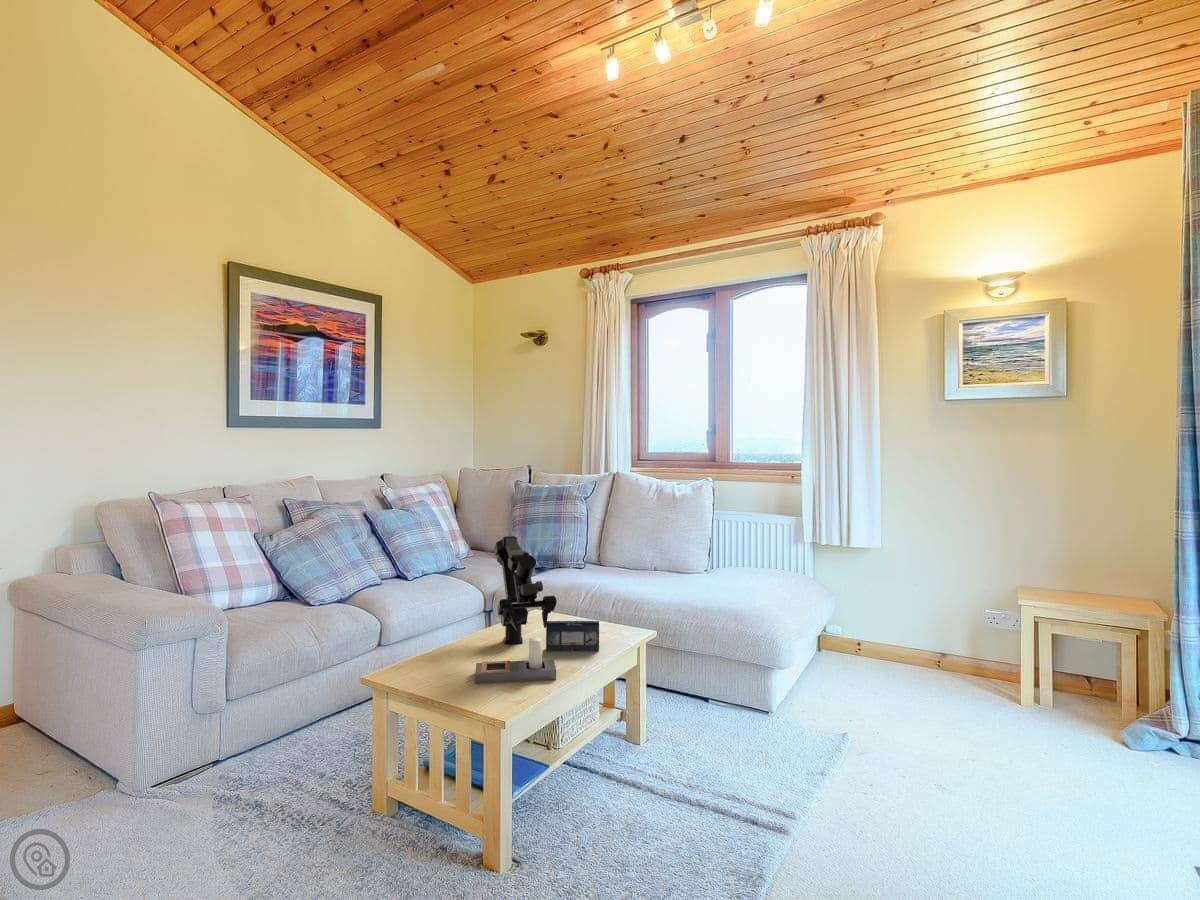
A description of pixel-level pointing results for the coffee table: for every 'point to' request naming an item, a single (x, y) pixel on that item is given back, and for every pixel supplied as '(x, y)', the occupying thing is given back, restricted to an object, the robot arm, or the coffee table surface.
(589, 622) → the vhs cassette tape
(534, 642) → the peg
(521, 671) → the rail
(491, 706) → the coffee table surface
